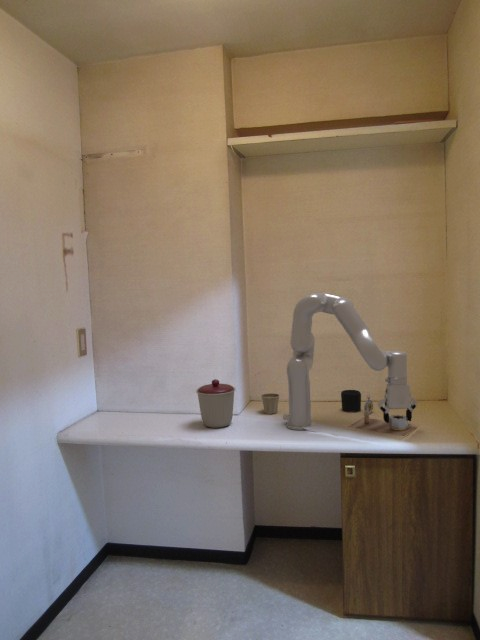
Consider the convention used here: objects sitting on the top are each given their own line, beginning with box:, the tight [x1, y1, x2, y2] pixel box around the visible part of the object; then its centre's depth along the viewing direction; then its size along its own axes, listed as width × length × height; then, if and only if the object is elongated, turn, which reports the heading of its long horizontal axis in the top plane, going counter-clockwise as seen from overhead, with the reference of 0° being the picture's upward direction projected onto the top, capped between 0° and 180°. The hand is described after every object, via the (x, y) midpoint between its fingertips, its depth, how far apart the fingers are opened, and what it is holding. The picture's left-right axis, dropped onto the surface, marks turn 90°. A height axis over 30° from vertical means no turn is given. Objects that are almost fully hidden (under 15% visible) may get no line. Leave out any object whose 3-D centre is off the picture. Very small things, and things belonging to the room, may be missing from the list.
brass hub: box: [390, 427, 407, 431], centre depth 204 cm, size 7×7×3 cm
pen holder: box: [340, 389, 362, 413], centre depth 235 cm, size 9×9×10 cm
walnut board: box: [347, 416, 417, 437], centre depth 208 cm, size 24×16×1 cm, turn 52°
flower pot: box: [260, 392, 281, 415], centre depth 241 cm, size 9×9×9 cm
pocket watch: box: [363, 394, 374, 415], centre depth 226 cm, size 8×8×10 cm
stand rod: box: [363, 410, 370, 424], centre depth 212 cm, size 2×2×5 cm
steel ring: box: [389, 414, 409, 429], centre depth 204 cm, size 7×7×4 cm
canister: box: [195, 378, 236, 429], centre depth 224 cm, size 18×18×21 cm
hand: (397, 421), depth 204 cm, fingers open, 9 cm apart
